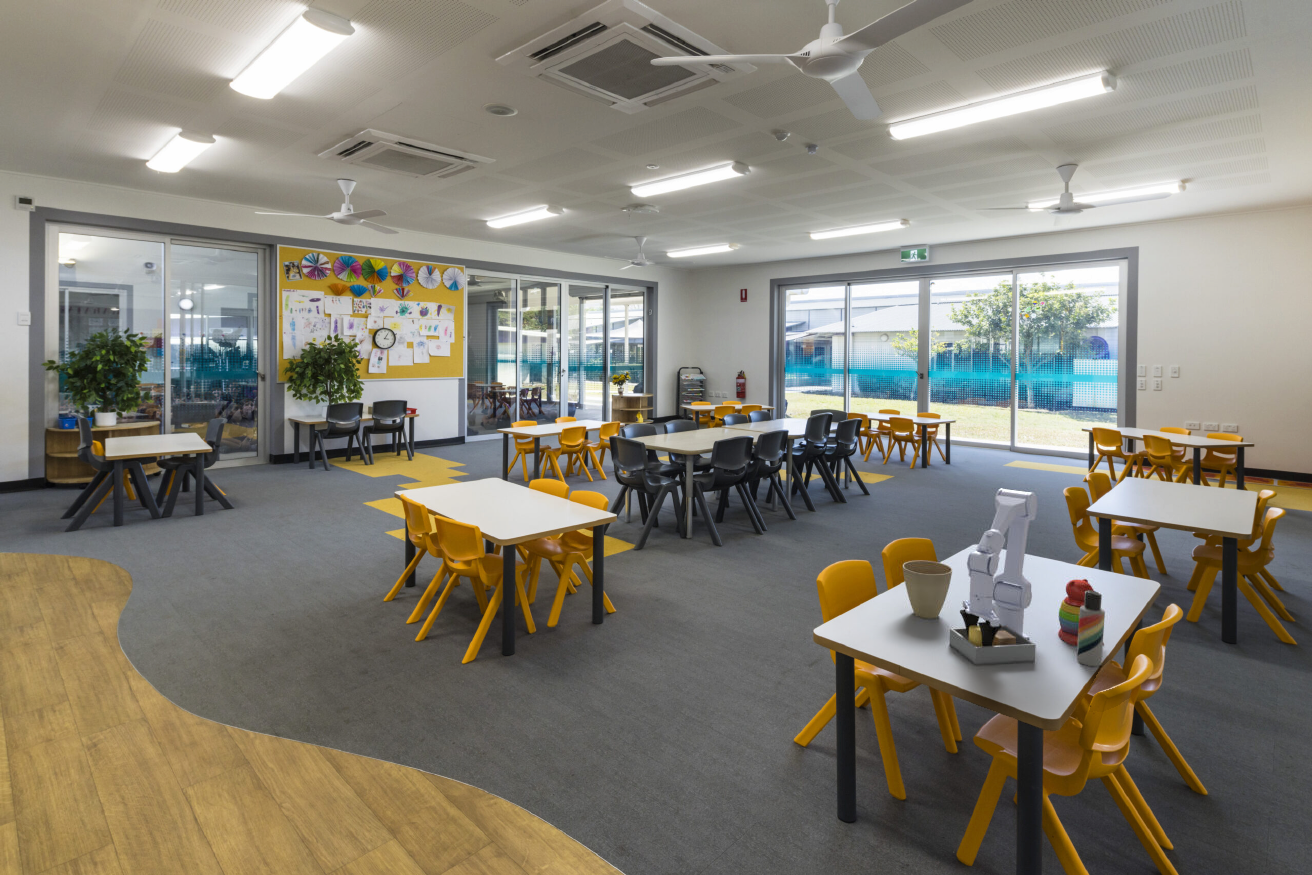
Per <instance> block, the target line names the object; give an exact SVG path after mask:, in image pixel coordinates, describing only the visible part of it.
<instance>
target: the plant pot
mask: <svg viewBox="0 0 1312 875" xmlns="http://www.w3.org/2000/svg"><path fill="white" fill-rule="evenodd" d="M902 571H903V572H902V573H903V577H904V578H903V579H904V584H905V589H906V591H907V596H908V600H909V603H910V606H911V609H912V611H913V614H914V615H915V616H916V615H917V616H916V617H919V618H922V619H928V620H929V619H930V620H932V619H937V618H938V617H939V615H940V614H941V611H942V608H943V607H944V605H945V604H944V603H945V601H946V598H947V595H948V592H949V589H950V585H951V579H952V575H953V568H952V567H951V566H949V565H948V564H945V563H942V562H938V561H937V562H936V561H933V560H931V561H930V560H910V561H906V562H904V563H903V564H902Z"/></svg>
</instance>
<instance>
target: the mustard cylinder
mask: <svg viewBox="0 0 1312 875" xmlns="http://www.w3.org/2000/svg"><path fill="white" fill-rule="evenodd" d="M969 641H970V642H971V643H972V644H974V645H975V646H976V647H983V645H982V634H981V630H980V627H979V625H978V624H977V625H973V626H970V627H969Z"/></svg>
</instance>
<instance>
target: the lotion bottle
mask: <svg viewBox="0 0 1312 875" xmlns="http://www.w3.org/2000/svg"><path fill="white" fill-rule="evenodd" d="M1102 598H1103V597H1102V593H1100V592H1098V591H1095V590H1094V591H1091V590H1087V591H1086V592H1085V603H1084V606H1081V607H1080V615H1079V630H1078V646H1076V647H1077V649H1076V661H1077V662H1078V663H1080V664H1082V665H1084V666H1087V665H1088V666H1089V667H1099V666H1098V665H1100V666H1101V665H1102V659H1103V648H1104V645H1103V644H1104V632H1105V630H1104V629H1105V618H1106V617H1105V615H1106V612H1105V610H1104V609H1103V608H1102Z"/></svg>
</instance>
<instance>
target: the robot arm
mask: <svg viewBox="0 0 1312 875" xmlns="http://www.w3.org/2000/svg"><path fill="white" fill-rule="evenodd" d="M994 504H995V510H996V513H995V515H994V518H993V521H992V525H991V527H990V529H988V530H986V531H984V533H983V534H982V537H981V538H980V540H979V543H978V545H977V547H976V549H975V550H974V551H972V552H970V553H969V554H968V556H967V557H968V558H967V562H966V566H967V570H968V577H970V582H969V584H970V585H969V600H962V608H964V609H960V610H959V614H960V616H962V620H963V622H964V626H965V627H964V628H966V632H967V635H968V636H969V627H970V626H973V625H977V626H979V627H980V630H981V634H982V645H983V647H984V646H992V643H993V640H994V638H995V636H996V634H997V632H998V631H999V630H1000V628H1001V626H1007V627H1009V628H1011V629H1012V630H1014V631H1015V632H1017V633H1018V634H1020V635H1022V636H1023V637H1025V638H1026V639H1028V640H1029V639H1030V636H1029V635H1027V634H1026V633H1025V632H1024V619H1025V617H1024V616H1025V609H1027V608H1029V606H1031V602H1032V597H1033V595H1032V594H1033V593H1032V583H1031V582H1030V581H1029V580H1028V579H1027V578H1026V577H1025V576H1024V575H1023V569H1024V564H1025V563H1024V562H1025V553H1026V547H1027V540H1028V539H1027V538H1028V531H1029V526H1030V525H1029V524H1030V521H1034V520H1035V519H1036V516H1037V510H1038V498H1037V495H1036V494H1035V492H1032V491H1031V492H1029V491H1021V490H1015V489H1014V490H1012V489H1005V488H1000V489H998V490H997V491H996V494H995V498H994ZM1007 530H1008V534H1007V535H1008V536H1007V544H1006V545H1007V546H1006V552H1005V558H1004V560H1005V561H1004V569H1003V572H1001V573H999V574H997V575H996V576H995V577H994V575H995V574H996V573H997V571H998V568H999V561H1000V554H1001V551H1002V549H1003V547H1004V545H1005V543H1006V538H1005V536H1004V535H1005V533H1006V532H1007ZM993 601H994V602H993ZM980 619H982V620H984V621H982V622H979V620H980Z"/></svg>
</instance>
